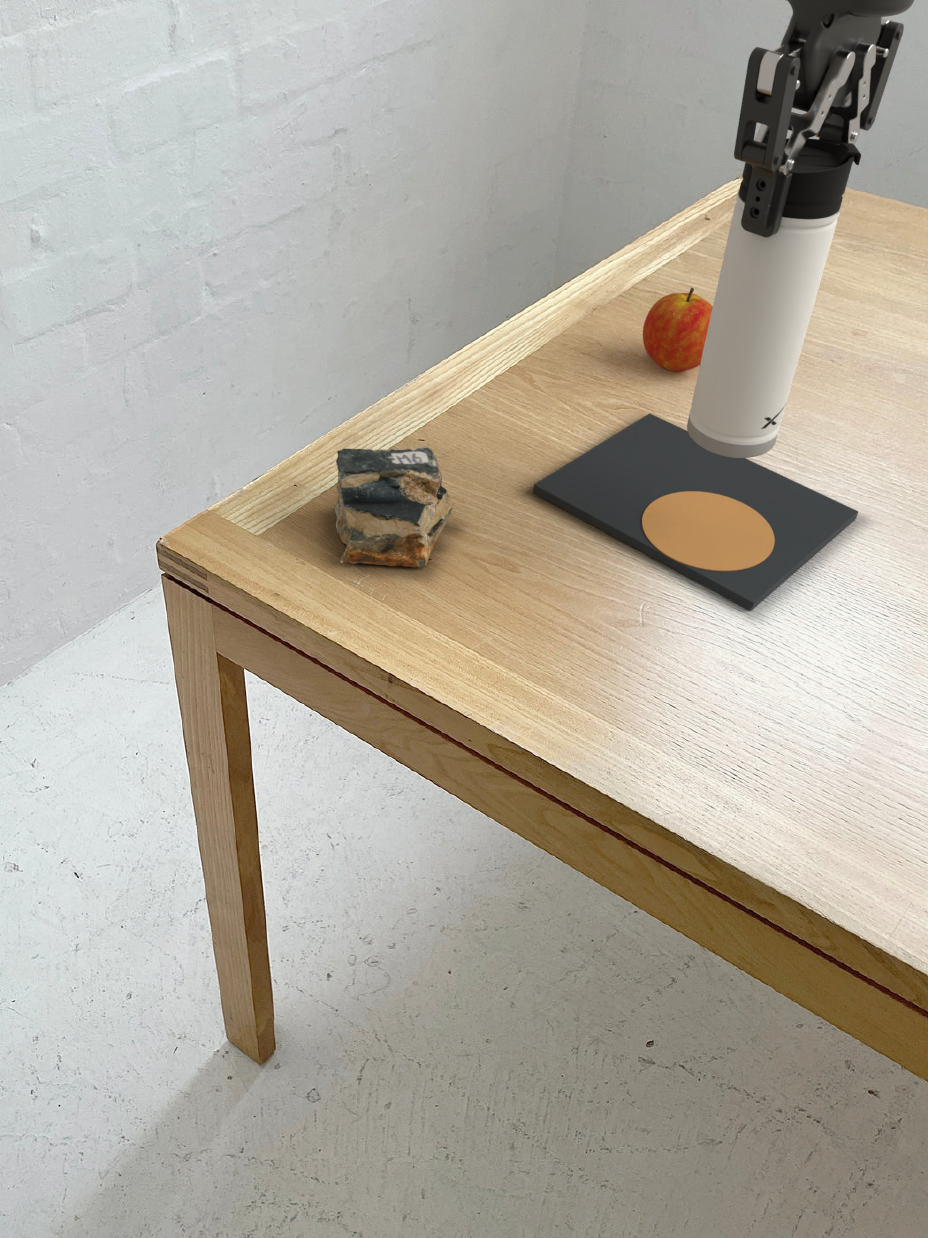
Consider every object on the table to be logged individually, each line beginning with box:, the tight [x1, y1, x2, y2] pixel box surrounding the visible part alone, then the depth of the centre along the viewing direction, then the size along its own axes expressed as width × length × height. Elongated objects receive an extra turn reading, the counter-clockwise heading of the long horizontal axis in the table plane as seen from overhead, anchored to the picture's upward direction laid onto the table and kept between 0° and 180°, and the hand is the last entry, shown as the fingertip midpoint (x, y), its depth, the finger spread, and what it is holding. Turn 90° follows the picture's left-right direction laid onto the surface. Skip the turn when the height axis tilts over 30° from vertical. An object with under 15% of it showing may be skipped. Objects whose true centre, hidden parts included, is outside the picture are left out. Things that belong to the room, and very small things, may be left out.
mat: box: [532, 413, 859, 612], centre depth 89 cm, size 20×16×1 cm
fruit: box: [642, 287, 713, 373], centre depth 104 cm, size 7×7×8 cm
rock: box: [334, 446, 454, 568], centre depth 82 cm, size 9×9×6 cm
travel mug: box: [686, 137, 862, 459], centre depth 73 cm, size 6×7×20 cm
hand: (787, 217), depth 70 cm, fingers closed on travel mug, 6 cm apart
